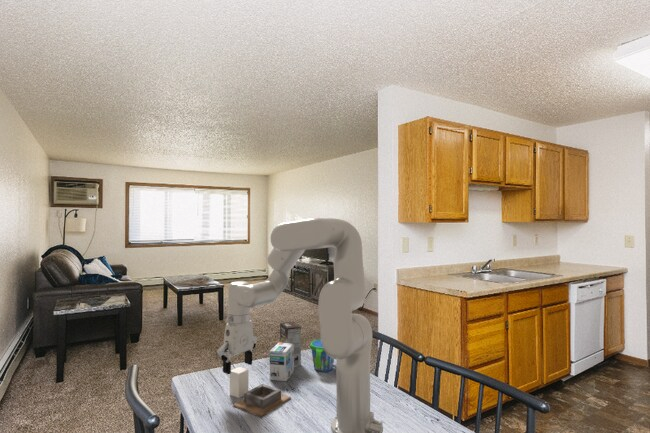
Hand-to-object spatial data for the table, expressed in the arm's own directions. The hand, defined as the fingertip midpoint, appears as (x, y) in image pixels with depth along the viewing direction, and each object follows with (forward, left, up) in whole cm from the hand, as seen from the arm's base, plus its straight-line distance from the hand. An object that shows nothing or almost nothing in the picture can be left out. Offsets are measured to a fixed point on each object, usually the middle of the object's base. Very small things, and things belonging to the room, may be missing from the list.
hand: (237, 368), depth 124 cm
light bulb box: (-3, -20, -9) cm, 22 cm away
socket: (-12, 0, -9) cm, 14 cm away
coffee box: (+2, -31, -9) cm, 32 cm away
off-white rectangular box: (-1, 0, -9) cm, 9 cm away
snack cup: (-12, -34, -9) cm, 37 cm away
